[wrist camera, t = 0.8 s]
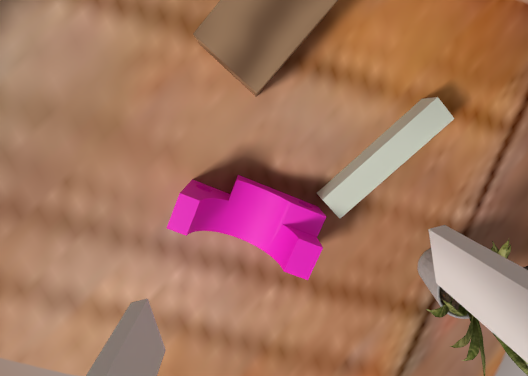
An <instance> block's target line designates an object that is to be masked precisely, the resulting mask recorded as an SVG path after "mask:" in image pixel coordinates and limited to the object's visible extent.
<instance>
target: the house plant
mask: <svg viewBox="0 0 528 376" xmlns="http://www.w3.org/2000/svg"><path fill="white" fill-rule="evenodd" d="M492 242H493V241H492ZM508 245H509V240H508V241H507V242H506V243H505V244H504V245H503V246H502V247H501V249H500V250H498V248H497V247H496V246H495V244H494V243H493V247H492V249H491V250H492V251H493V252H495V253H497V254H499V255H501V256H503V257H505V258H506V259H507V258H508V255H509V253H510V251H511V245H510V246H509V248H508ZM418 272H419V275H420V277H421V278H422V280H423V281H424V282H425V284H426V285H427V287H428V288H429V290H430V291H431V293H432V294H433V296H434V297H435V299H436V300H437V302H438V303H439V305H440V306H441V307H440V308H438V309H435V310H428V309H427V310H428V311H430V312H431V313H432V314H433V315H434V316H435V317H443V316H445V315H446V314H449V315H451V316H453V317H456V318H462V319H467V318H470V321H471V323H470V325H469V328H468V331H467V333H466V335H465V336H464V337H463V338H462V339H460V340H459V341H458V342H457V343H456V344H455V345H453V346H451V347H454V348H458V347H464V346H465V345H467V344H468V343H469V341H470V339H471V343H470V347H469V351H468V355H467V358H466V359H465V360H461V361H467V360H472V359H474V358H475V357H476V356H477V354H478V353H479V349H480V351H481V357H482V364H483V373H484V376H485V355H484V347H483V336H482V332H481V328H480V324H479V321H478V319H477V318H475V317H474V316H473V315H472V314H471V313H470V312H469V311H467V310H466V309H465V308H464V307H463V306H462V305H461V304H459V303H458V302H457V301H456V300H455V299H454V298H453V297H451V296H450V295H449V294H448V293H447V292H446V291H445V290H443V289H442V288H441V287H440V286H439V285H438V284H437V283H436V279H435V272H434V265H433V258H432V250H431V248H430V249H428V250H427V251H425V252H424V253H423V254H422V256H421V257H420V259H419V262H418ZM492 333H493V332H492ZM493 334H494V333H493ZM494 336H495V337H496V338H497V339H498V341H499V342H500V343H501V345H502V346H503V348H504V349H505V351H506V352H507V354H508V355H509V356H510V358H511V359H512V360H513V361H514V362H515V363H516V364H517V366H518V367H519V368H520V369H521V370H523V371H524V372H525V373H526V374H527V375H528V366H527V364H528V363H527V362H526V361H525V360H524V359H522V358H521V357H520V356H519V355H518V354H517V353H516V352H514V351H513V350H512V349H511V348H510V347H509V346H508V345H506V344H505V343H504V342H503V341H502V340H501V339H500V338H498V337H497V336H496V335H495V334H494ZM525 362H526V363H527V364H526V363H525Z"/></svg>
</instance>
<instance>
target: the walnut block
mask: <svg viewBox="0 0 528 376" xmlns="http://www.w3.org/2000/svg"><path fill="white" fill-rule="evenodd" d="M337 1H338V0H220V1H219V3H218V4H217V5H216V6H215V8H214V9H213V10H212V11H211V12H210V14H209V15H208V16H207V17H206V19H205V20H204V21H203V22H202V24H201V25H200V26H199V27H198V29H197V30H196V31H195V32H194V33H193V35H194V36H195V38H196V39H197V41H198V42H199V44H200V45H201V46H202V47H203V48H204V49H205V50H206V51H207V52H208V53H209V54H210V55H212V56H213V57H214V58H215V59H216V60H217V61H218V62H219V63H220V64H221V65H222V66H223V67H225V68H226V69H227V70H228V71H229V72H230V73H231V74H232V75H233V76H234V77H235V78H236V79H238V80H239V81H240V82H241V83H242V84H243V85H244V86H245V87H246V88H247V89H248V90H249V91H250V92H252V93H253V94H254V95H255V96H257V95H258V94H259V93H260V91H261V90H262V89H263V88H264V87H265V86H266V84H267V83H268V82H269V81H270V80H271V79H272V77H273V76H274V75H275V74H276V73H277V72H278V71H279V69H280V68H281V67H282V66H283V65H284V64H285V62H286V61H287V60H288V59H289V58H290V57H291V55H292V54H293V53H294V52H295V51H296V50H297V49H298V47H299V46H300V45H301V44H302V43H303V42H304V40H305V39H306V38H307V37H308V36H309V35H310V33H311V32H312V31H313V30H314V29H315V28H316V26H317V25H318V24H319V23H320V22H321V21H322V20H323V18H324V17H325V16H326V15H327V14H328V13H329V11H330V10H331V9H332V8H333V6H334V5H335V4H336V2H337Z"/></svg>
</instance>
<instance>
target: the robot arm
mask: <svg viewBox="0 0 528 376" xmlns="http://www.w3.org/2000/svg"><path fill="white" fill-rule="evenodd" d="M429 236H430V243H431V250H432V258H433V265H434V272H435V279H436V283H437V284H438V285H439V286H440V287H441V288H442V289H443V290H445V291H446V292H447V293H448V294H449V295H450V296H451V297H453V298H454V299H455V300H456V301H457V302H458V303H459V304H461V305H462V306H463V307H464V308H465V309H466V310H467V311H469V312H470V313H471V314H472V315H473V316H474V317H475V318H477V319H478V320H479V321H480V322H481V323H482V324H483V325H485V326H486V327H487V328H488V329H489V330H490V331H492V332H493V333H494V334H495V335H496V336H497V337H498V338H500V339H501V340H502V341H503V342H504V343H505V344H506V345H508V346H509V347H510V348H511V349H512V350H513V351H514V352H516V353H517V354H518V355H519V356H520V357H521V358H522V359H524V360H525V361H526V362H527V363H528V266H526V267H521V266H519V265H517V264H516V263H514V262H512V261H510V260H508V259H506V258H505V257H503V256H501V255H499V254H497V253H495V252H493V251H492V250H490V249H488V248H486V247H484V246H482V245H481V244H479V243H477V242H475V241H473V240H471V239H470V238H468V237H466V236H464V235H462V234H460V233H459V232H457V231H455V230H453V229H451V228H449V227H447V226H446V225H443V226H439V227H435V228H431V229H429ZM164 353H165V347H164V344H163V341H162V338H161V335H160V332H159V330H158V327H157V324H156V321H155V318H154V315H153V313H152V310H151V307H150V304H149V301H148V299H144V300H140V301H136V302H132V303H131V304H130V305H129V307H128V309H127V310H126V312H125V313H124V315H123V317H122V318H121V320H120V322H119V323H118V325H117V326H116V328H115V330H114V331H113V333H112V335H111V336H110V338H109V339H108V341H107V343H106V344H105V346H104V347H103V349H102V351H101V352H100V354H99V356H98V357H97V359H96V360H95V362H94V364H93V365H92V367H91V369H90V370H89V372H88V373H87V375H86V376H157V374H158V371H159V368H160V365H161V362H162V359H163V356H164Z"/></svg>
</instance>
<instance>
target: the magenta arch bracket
mask: <svg viewBox="0 0 528 376" xmlns="http://www.w3.org/2000/svg"><path fill="white" fill-rule="evenodd" d="M325 219H326V216H325V214H324V213H323V212H322V211H321V209H320V208H319V207H318V206H315V205H313V204H310V203H308V202H305V201H303V200H300V199H298V198H295V197H293V196H290V195H288V194H285V193H283V192H280V191H278V190H275V189H273V188H270V187H268V186H265V185H263V184H260V183H258V182H255V181H253V180H250V179H248V178H245V177H243V176H240V175H238V176H237V178H236V181H235V183H234V186H233V188H232V191H231V193H230V194H229V193H226V192H223V191H221V190H218V189H216V188H213V187H211V186H208V185H205V184H203V183H200V182H198V181H195V180H193V179H192V181H191V182H190V183H189V184H188V185H187V186H186V187H185V188H184V189H183V190H182V191H181V192H180V194H179V197H178V199H177V202H176V205H175V207H174V210H173V213H172V215H171V218H170V221H169V223H168V226H167V229H170V230H173V231H175V232H178V233H181V234H184V235H186V236H187V235H188V234H189V233H192V232H195V231H214V232H220V233H224V234H228V235H231V236H234V237H237V238H240V239H242V240H244V241H247V242H249V243H251V244H253V245H255V246H256V247H258V248H260V249H262V250H263V251H265V252H266V253H267V254H269V255H270V256H271V257H272V258H274V259H275V260H276V261H277V262H278V263H279V265H280V266H281V267H282V269H283V271H284V272H287V273H290V274H292V275H295V276H298V277H300V278H303V279H306V280H308V279H309V277H310V274H311V272H312V270H313V268H314V266H315V264H316V262H317V259H318V257H319V255H320V253H321V251H322V249H323V247H322V245H321V244H320V242H319V240H318V238H317V236H318V234H319V232H320V230H321V228H322V225H323V223H324V221H325Z"/></svg>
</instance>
